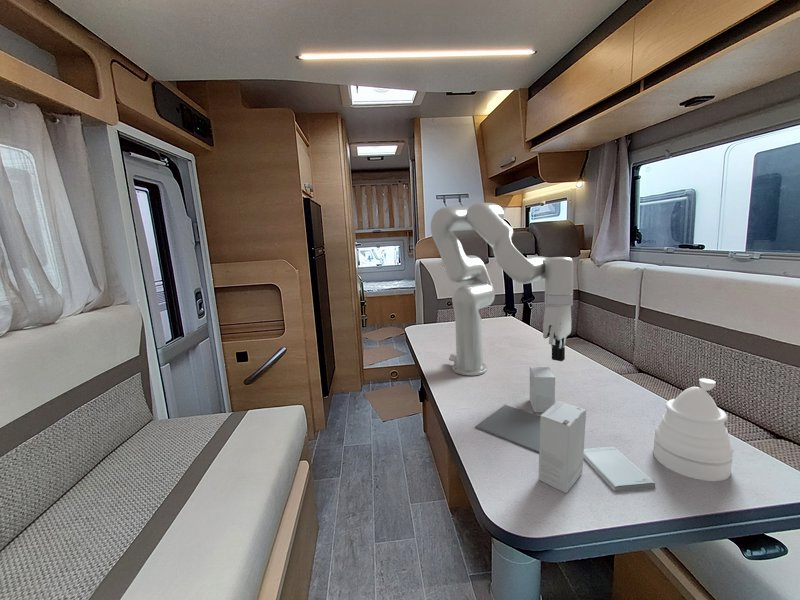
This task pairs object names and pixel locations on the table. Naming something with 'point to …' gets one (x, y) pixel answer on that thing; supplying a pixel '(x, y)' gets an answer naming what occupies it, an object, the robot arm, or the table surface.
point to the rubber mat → (514, 426)
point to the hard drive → (616, 469)
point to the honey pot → (694, 436)
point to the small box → (542, 388)
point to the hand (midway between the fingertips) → (558, 359)
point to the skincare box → (561, 445)
